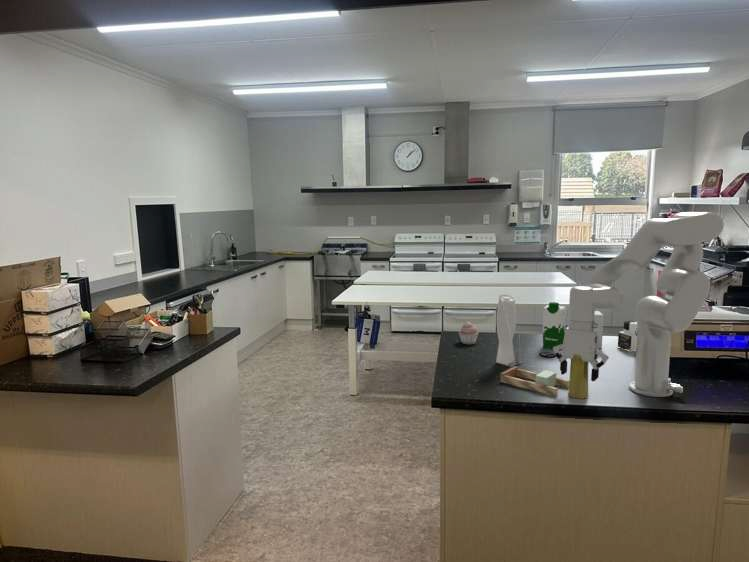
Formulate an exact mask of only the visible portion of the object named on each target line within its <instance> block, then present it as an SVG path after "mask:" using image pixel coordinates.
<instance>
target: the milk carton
mask: <svg viewBox="0 0 749 562" xmlns="http://www.w3.org/2000/svg"><path fill="white" fill-rule="evenodd" d="M566 315H567V314H566V306H565V305H560V304H559V302H553V301H551V302H549V303H548V304H547V305H545V306H544V307H543V315H542V347H543V349H551V350H553V347H555V346H558V345H561V344H563V341H564V335H565V331H566ZM560 350H561V349H559V351H560Z"/></svg>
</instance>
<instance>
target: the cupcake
mask: <svg viewBox="0 0 749 562" xmlns="http://www.w3.org/2000/svg"><path fill="white" fill-rule="evenodd" d="M475 325H476V324H475ZM475 325H474V324H472V323H471V321H467V322H465V323H464V324H463V325H462V326H461V328H460V330H459V332H458V336H459V337H460V340H461V341H460V342H461V343H462V344H464V345H474V344H476V342H477V338H478V335H479V334H480V332H479V331H478V330H477V327H476V326H475Z"/></svg>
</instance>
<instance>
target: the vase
mask: <svg viewBox="0 0 749 562" xmlns="http://www.w3.org/2000/svg"><path fill="white" fill-rule="evenodd" d="M589 364H590V362H584V361H582V360H581V356H580V355H575V354H573V359H570V367H569V368H570V369H569V380H570V381H569V388H568V392H567V395H568V396H569V397H570V396H571V397H570V398H573V399H577V398H578V400H584V398H585V399H588V398H589ZM587 397H588V398H587Z"/></svg>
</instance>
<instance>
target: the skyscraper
mask: <svg viewBox="0 0 749 562" xmlns="http://www.w3.org/2000/svg"><path fill="white" fill-rule="evenodd" d="M516 326H517V306H516V300H515V298H514V297H513V296H511V295H508V294H499V296H498V303H497V310H496V331H497V337H498V346H497V347H498V348H497V354H496V359H495V360H496V361H495V363H496V364H497V363H498V365H501V364H502V365H501V366H504V365H505V366H504V367H508V366H509V368H512V367H514V366H515V365H516V366H519V365H521V364H522V362H521V355H522V353H521V344H522V343H521V342H520V341H521V339H520V338H521V336H520V331H518V333H517V334H518V336H517V342H516V354H515V351H514V344H513V339H514V336H515V332H516V331H515V330H516ZM518 364H519V365H518Z"/></svg>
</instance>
